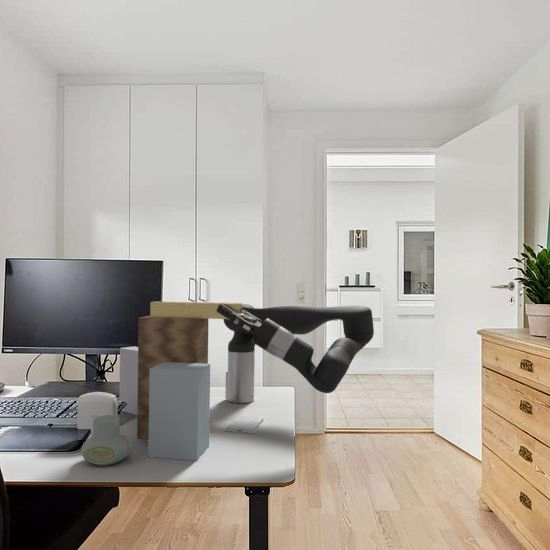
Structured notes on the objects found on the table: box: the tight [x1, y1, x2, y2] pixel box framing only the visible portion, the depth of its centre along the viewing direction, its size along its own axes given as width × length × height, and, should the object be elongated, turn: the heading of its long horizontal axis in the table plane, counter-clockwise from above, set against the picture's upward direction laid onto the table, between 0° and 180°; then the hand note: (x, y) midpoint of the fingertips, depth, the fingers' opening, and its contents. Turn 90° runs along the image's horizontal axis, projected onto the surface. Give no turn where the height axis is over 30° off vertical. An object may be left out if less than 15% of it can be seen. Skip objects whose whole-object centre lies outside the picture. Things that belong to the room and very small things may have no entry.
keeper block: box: [148, 362, 211, 461], centre depth 128 cm, size 12×10×21 cm
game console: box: [118, 346, 138, 416], centre depth 159 cm, size 6×27×20 cm, turn 53°
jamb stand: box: [136, 315, 209, 442], centre depth 140 cm, size 16×10×32 cm, turn 81°
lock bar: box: [149, 301, 243, 320], centre depth 139 cm, size 24×4×4 cm, turn 85°
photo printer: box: [76, 391, 118, 437], centre depth 136 cm, size 10×4×12 cm, turn 90°
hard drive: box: [225, 415, 264, 434], centre depth 151 cm, size 2×8×12 cm
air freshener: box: [80, 415, 132, 467], centre depth 121 cm, size 11×8×10 cm
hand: (222, 306), depth 138 cm, fingers open, 7 cm apart
